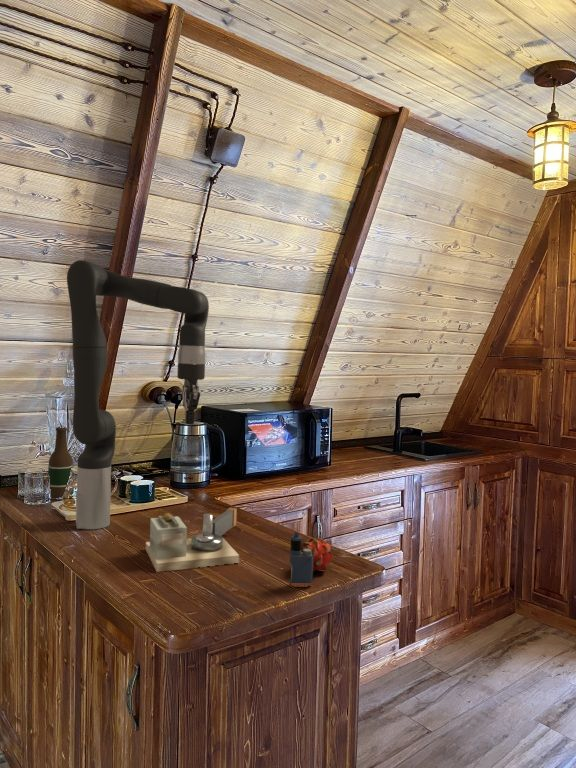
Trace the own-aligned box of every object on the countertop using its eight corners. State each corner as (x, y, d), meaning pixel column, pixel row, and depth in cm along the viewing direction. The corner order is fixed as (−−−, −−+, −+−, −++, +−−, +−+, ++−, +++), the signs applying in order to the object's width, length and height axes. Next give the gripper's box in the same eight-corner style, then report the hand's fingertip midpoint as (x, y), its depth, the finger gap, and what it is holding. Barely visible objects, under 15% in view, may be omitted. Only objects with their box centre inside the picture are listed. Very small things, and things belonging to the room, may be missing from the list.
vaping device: (288, 583, 134) (290, 531, 133) (311, 583, 134) (313, 531, 133) (289, 587, 131) (291, 534, 130) (312, 587, 132) (315, 534, 131)
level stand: (156, 572, 137) (158, 525, 137) (145, 549, 152) (146, 507, 151) (238, 563, 145) (240, 519, 144) (220, 543, 160) (222, 502, 159)
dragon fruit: (298, 585, 137) (318, 576, 148) (328, 568, 134) (346, 561, 145) (282, 551, 140) (303, 544, 150) (311, 534, 137) (330, 529, 148)
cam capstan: (215, 553, 145) (216, 520, 144) (185, 548, 147) (186, 517, 147) (246, 527, 167) (247, 499, 166) (219, 524, 169) (220, 496, 168)
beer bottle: (57, 501, 194) (59, 429, 193) (42, 497, 199) (44, 426, 197) (77, 497, 201) (78, 427, 200) (62, 493, 205) (63, 424, 204)
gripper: (173, 361, 169) (171, 421, 170) (183, 362, 157) (181, 427, 158) (198, 361, 172) (196, 421, 173) (210, 363, 160) (208, 427, 161)
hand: (189, 424), depth 165 cm, fingers closed
